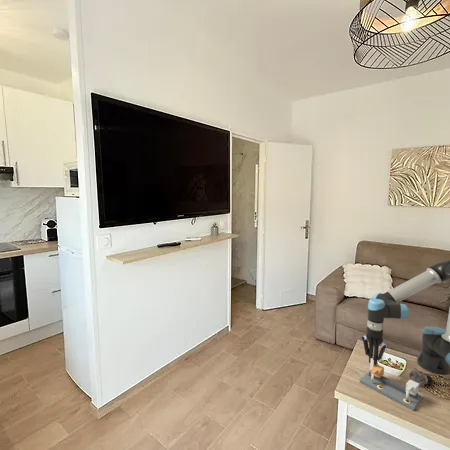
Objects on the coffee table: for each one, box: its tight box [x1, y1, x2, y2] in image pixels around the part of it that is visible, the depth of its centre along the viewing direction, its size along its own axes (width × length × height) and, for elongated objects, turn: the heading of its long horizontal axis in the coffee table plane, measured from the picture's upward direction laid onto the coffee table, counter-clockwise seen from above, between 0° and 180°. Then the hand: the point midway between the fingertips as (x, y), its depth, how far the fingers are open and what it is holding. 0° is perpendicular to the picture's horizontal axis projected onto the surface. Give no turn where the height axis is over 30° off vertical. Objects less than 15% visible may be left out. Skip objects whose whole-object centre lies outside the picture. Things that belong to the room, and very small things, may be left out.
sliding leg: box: [370, 364, 385, 382], centre depth 145 cm, size 9×4×5 cm, turn 128°
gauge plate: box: [359, 370, 424, 412], centre depth 139 cm, size 12×25×8 cm, turn 38°
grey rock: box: [408, 367, 433, 388], centre depth 146 cm, size 7×11×10 cm
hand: (372, 369), depth 148 cm, fingers closed
